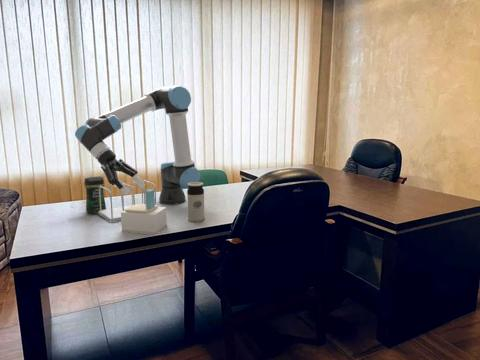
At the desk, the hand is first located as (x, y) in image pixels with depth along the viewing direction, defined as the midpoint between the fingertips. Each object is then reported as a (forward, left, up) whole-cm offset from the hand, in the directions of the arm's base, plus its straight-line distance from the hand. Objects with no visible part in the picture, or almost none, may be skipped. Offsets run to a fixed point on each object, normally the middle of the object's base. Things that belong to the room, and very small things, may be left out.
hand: (136, 189), depth 166 cm
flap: (-2, +1, -9) cm, 9 cm away
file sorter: (-10, -25, -19) cm, 33 cm away
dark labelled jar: (-27, +8, -18) cm, 34 cm away
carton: (-2, +2, -18) cm, 18 cm away
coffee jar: (0, -41, -18) cm, 45 cm away
